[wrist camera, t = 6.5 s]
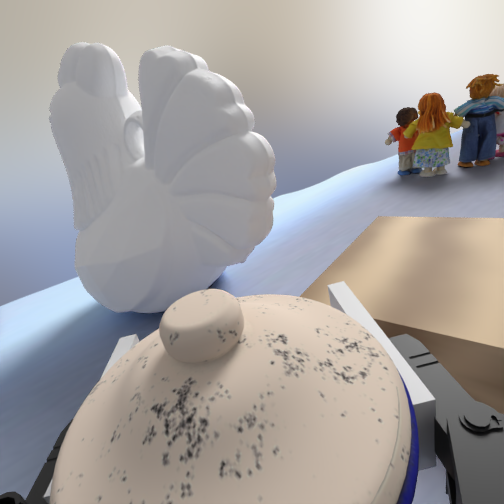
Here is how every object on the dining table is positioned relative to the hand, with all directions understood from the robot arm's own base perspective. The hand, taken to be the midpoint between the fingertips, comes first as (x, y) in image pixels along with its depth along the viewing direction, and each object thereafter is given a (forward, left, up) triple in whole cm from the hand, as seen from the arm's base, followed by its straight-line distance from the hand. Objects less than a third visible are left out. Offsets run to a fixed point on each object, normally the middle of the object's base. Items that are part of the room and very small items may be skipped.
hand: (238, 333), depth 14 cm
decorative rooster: (+16, -8, -7) cm, 19 cm away
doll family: (0, -54, -7) cm, 54 cm away
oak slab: (-5, -14, -7) cm, 16 cm away
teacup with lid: (-3, +4, -7) cm, 8 cm away
